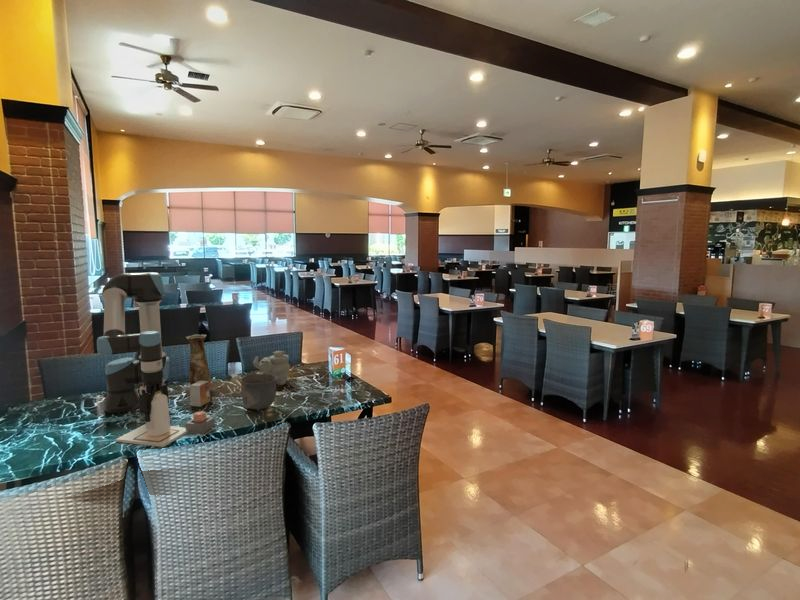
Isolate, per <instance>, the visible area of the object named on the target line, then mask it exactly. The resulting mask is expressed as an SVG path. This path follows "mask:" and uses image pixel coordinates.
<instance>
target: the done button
mask: <svg viewBox="0 0 800 600" xmlns="http://www.w3.org/2000/svg"><path fill="white" fill-rule="evenodd" d="M192 416H193V418H192V419H193V422H194V423H203V422H205V421H206V417H207V412H206V411H205V410H204V411H202V410H201V411H196V412H194V413H193V414H192Z"/></svg>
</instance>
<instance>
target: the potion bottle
mask: <svg viewBox="0 0 800 600" xmlns="http://www.w3.org/2000/svg"><path fill="white" fill-rule="evenodd" d="M160 392H161V390H160V391H159V390H158V391H156V392H155V395H154V397H153V400H152V402H151V406H152V407H151V413H152V414H153V428H154V429H147V431H148V434H149V435H150V436H160V435H164V434H166V433H167V432H169V431H170V426H171V420H170V411H169V403H168V398H167V396H166V395H164V394H161V393H160ZM147 411H148V410H147Z"/></svg>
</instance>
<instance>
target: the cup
mask: <svg viewBox="0 0 800 600" xmlns="http://www.w3.org/2000/svg"><path fill="white" fill-rule="evenodd" d="M277 380H278V377H277V376H276V375H275V374H271V373H263V372H262V373H250V374H247V375H244V376H243V377H241V378H240V379H239V382H240V387H241V390H240V392H241V400H242V404H243V405H244V406H245V408H247V409H251V410H263V409H266V408H268V407H270V406H271V405H273V403H274V402H275V400H276V396H277V395H276V394H277V392H276V391H277V389H276V388H277V385H276V383H277Z"/></svg>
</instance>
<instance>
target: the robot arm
mask: <svg viewBox="0 0 800 600" xmlns="http://www.w3.org/2000/svg"><path fill="white" fill-rule="evenodd" d="M165 292H166V291H165V287H164V282H163V279H162V274H161V273H159V272H153V271H152V272H151V271H148V272H123V273H118V274H117V275H115V276H113V277H111V278H110V279H108V281H107V282H106V283H105V285H104V286H103V288H102V292H101V298H102V300H103V302H104V305H103V307H104V309H103V312H104V313H103V335H102V336H98V337H97V339H96V350H97V354H98V355H99V356H111V355H119V354H121V355H122V354H129V353H130V354H131V353H140V354H139V356H138V359H135V358H133V357H128V356H127V357H121V358H118V359H114V360H111V361H109V362H108V363H106V365H105V372H104V373H105V377H106V378H105V379H106V392H107V395H106V397H105V403H104V405H103V408H104V409H103V410H104V412H105V413H110V414H115V413H118V414H119V413H125V412H129V411H132V410H137V409H138V408H139V414H140V415H144V422H145V424H146V429H154V428H153V414H152V413H151V407H152V406H151V402H152V400H153V397H154V395H155V392H156V391H158V390H159V391H160V390H161V392H160V393H161V394H164V395H166V396H167V398H168V404H169V403H170V398H169V397H170V396H169V388H168V385H169V384H168V383H169V381H168V377H169V373H170V372H169V371H170V357H169V356H166V355H167V354H166V353H165V352H164V351H163V347H162V345H163V344H162V330H161V328H162V327H161V313H160V303H161V302H162V301H163V297H166V293H165ZM127 299H133V300H134V303H136V304H137V305H138V315H139V330H140V333H127V334H126V312H125V311H126V305H125V303H126V301H127ZM137 385H143V387H142V388H140V389H138V390H137ZM147 410H148V411H147Z"/></svg>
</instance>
